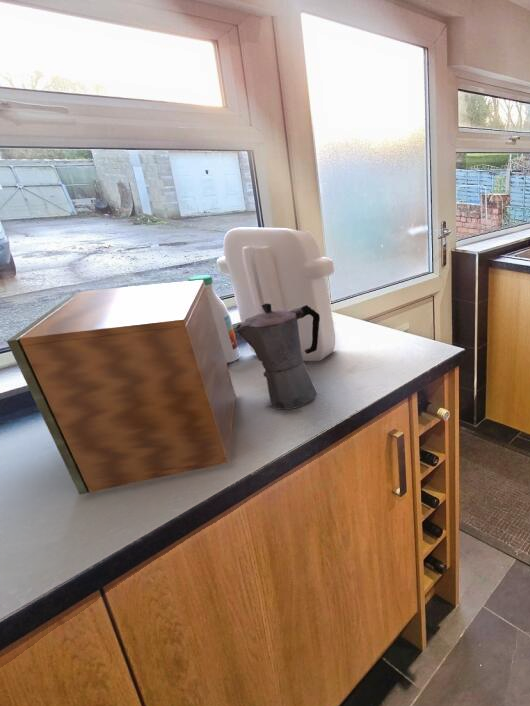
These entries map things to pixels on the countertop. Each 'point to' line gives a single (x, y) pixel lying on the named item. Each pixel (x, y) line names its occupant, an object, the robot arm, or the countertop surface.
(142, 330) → the cupboard
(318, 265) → the toaster
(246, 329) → the moka pot
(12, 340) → the cupboard door
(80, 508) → the countertop surface
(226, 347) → the milk bottle
